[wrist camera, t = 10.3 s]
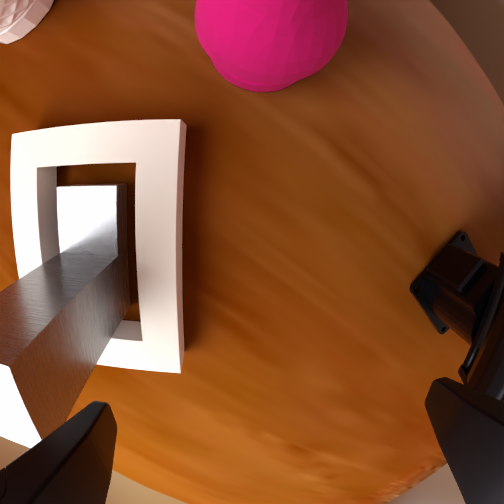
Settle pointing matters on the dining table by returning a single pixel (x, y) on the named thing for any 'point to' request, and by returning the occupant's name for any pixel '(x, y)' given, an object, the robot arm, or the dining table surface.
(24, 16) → the white cup
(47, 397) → the grey block
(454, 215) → the dining table surface
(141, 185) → the block
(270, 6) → the pepper mill
